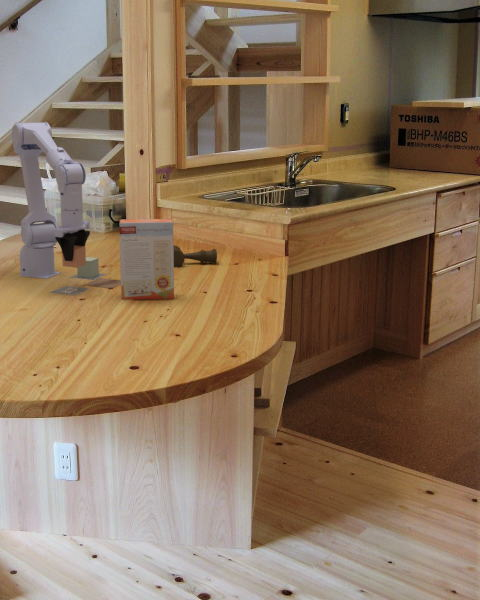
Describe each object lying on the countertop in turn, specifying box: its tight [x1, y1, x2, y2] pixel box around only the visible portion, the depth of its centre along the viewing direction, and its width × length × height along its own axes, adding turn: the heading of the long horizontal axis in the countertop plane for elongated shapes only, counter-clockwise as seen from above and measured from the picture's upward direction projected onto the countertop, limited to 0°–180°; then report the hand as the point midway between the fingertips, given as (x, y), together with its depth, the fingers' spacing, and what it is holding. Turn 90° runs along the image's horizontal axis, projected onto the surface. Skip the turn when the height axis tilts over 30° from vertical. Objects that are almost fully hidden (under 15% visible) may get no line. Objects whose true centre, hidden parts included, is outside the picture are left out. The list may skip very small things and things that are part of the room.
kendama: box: [173, 244, 218, 268], centre depth 251 cm, size 6×10×20 cm
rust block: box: [61, 245, 87, 269], centre depth 214 cm, size 4×4×5 cm
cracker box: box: [118, 218, 175, 301], centre depth 209 cm, size 14×6×21 cm, turn 97°
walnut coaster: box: [84, 277, 121, 289], centre depth 224 cm, size 9×9×1 cm
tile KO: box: [48, 285, 90, 296], centre depth 216 cm, size 8×8×1 cm
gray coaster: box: [69, 272, 107, 281], centre depth 233 cm, size 8×8×1 cm
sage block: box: [76, 256, 100, 278], centre depth 232 cm, size 4×4×5 cm
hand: (73, 258), depth 215 cm, fingers closed on rust block, 4 cm apart
